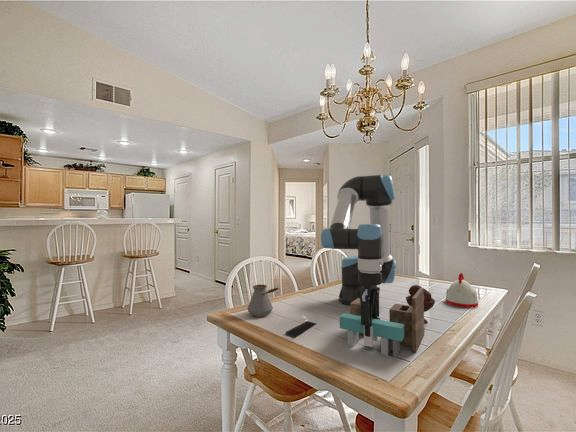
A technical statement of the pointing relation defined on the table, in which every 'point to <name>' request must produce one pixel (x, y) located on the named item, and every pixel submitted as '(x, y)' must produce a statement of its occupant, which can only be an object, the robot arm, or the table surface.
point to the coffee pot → (260, 301)
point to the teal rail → (376, 329)
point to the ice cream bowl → (427, 298)
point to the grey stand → (385, 343)
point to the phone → (300, 329)
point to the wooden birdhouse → (410, 320)
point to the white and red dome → (461, 294)
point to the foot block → (356, 309)
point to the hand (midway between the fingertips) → (370, 342)
